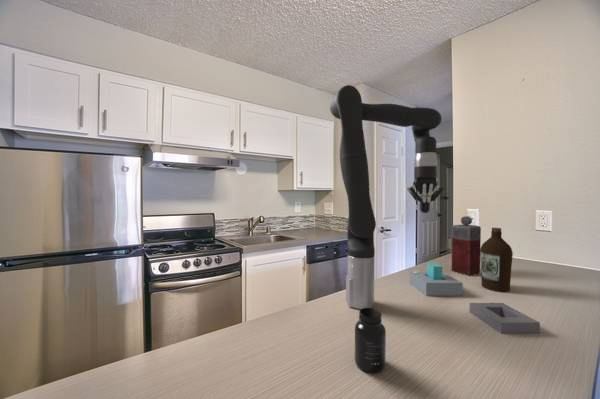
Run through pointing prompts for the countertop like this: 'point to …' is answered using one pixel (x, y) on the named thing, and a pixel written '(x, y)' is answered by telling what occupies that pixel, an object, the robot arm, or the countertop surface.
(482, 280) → the brown glass bottle
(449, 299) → the countertop surface
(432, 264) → the plug
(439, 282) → the block
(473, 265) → the red canister
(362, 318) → the supplement bottle
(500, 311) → the holster
